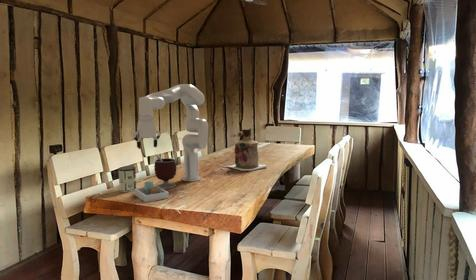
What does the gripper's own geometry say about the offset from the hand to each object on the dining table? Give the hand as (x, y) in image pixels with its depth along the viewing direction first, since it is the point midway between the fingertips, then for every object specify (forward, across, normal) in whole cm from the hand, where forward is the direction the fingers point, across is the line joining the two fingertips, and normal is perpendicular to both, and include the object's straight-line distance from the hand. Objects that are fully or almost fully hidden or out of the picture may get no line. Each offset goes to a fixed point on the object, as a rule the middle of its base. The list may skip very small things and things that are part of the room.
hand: (147, 147), depth 215 cm
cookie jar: (+29, -93, -31) cm, 102 cm away
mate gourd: (+28, -16, -14) cm, 36 cm away
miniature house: (+28, +7, -18) cm, 34 cm away
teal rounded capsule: (+28, 0, 0) cm, 28 cm away
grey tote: (+28, 0, +4) cm, 29 cm away
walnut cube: (+28, 0, +8) cm, 29 cm away
